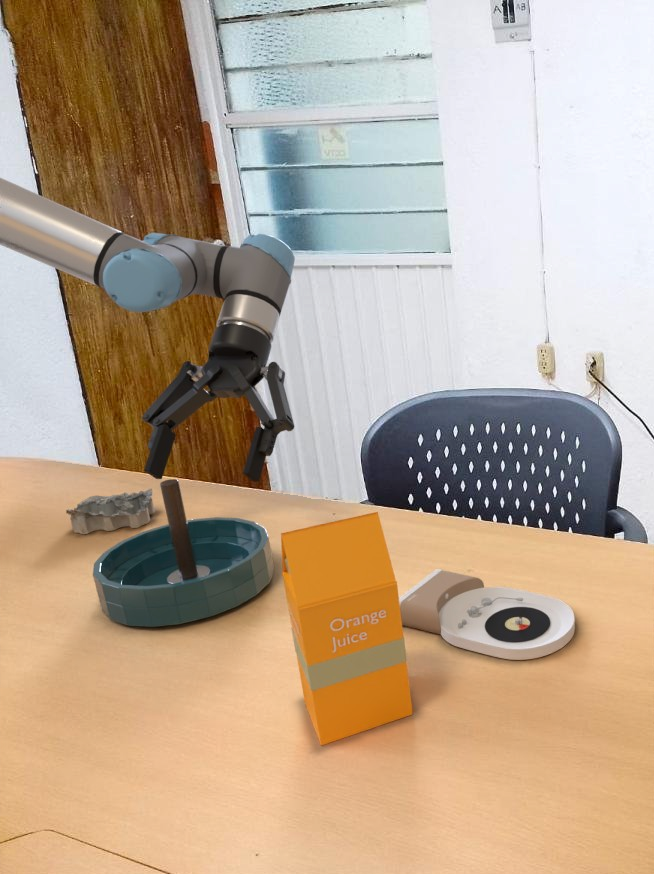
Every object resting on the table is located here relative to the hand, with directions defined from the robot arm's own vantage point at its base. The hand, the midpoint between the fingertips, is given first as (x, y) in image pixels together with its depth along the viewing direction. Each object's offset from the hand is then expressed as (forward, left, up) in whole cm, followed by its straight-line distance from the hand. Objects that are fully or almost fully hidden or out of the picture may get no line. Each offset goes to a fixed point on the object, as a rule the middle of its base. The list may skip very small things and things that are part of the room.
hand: (201, 476), depth 106 cm
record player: (+32, +26, -13) cm, 43 cm away
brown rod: (+5, -4, -12) cm, 14 cm away
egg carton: (-24, -13, -13) cm, 30 cm away
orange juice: (+40, +9, -13) cm, 43 cm away
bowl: (+5, -4, -13) cm, 14 cm away
